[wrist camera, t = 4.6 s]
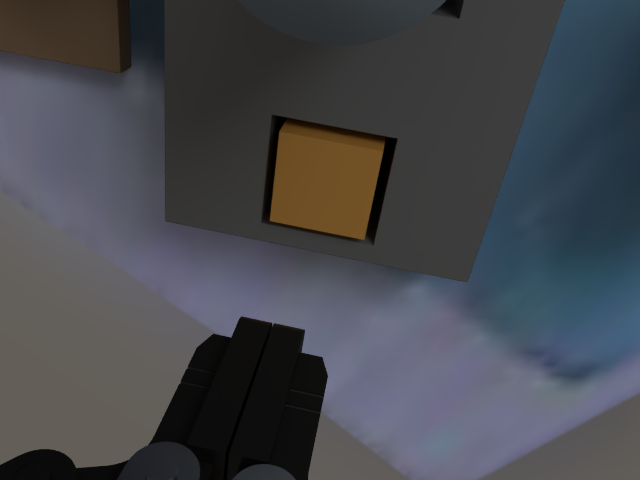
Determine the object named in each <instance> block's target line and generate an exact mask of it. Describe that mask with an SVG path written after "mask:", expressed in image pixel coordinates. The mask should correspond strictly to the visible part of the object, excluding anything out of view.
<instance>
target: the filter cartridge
mask: <svg viewBox="0 0 640 480" xmlns="http://www.w3.org/2000/svg"><path fill="white" fill-rule="evenodd" d="M238 1H239V2H240V3H241V4H242V5H243V6H244V7H245V8H246V9H247V10H248V11H249V12H251V13H252V14H253V15H255V16H256V17H257V18H259V19H260V20H262V21H263V22H264V23H266V24H268V25H269V26H271V27H273V28H275V29H277V30H278V31H280V32H282V33H285V34H287V35H290V36H292V37H295V38H297V39H301V40H305V41H308V42H312V43H316V44H325V45H334V46H340V45H358V44H364V43H371V42H374V41H378V40H381V39H384V38H388V37H391V36H393V35H395V34H397V33H400V32H402V31H404V30H406V29H408V28H410V27H412V26H413V25H415V24H417V23H418V22H420V21H421V20H423V19H425V18H426V17H427V16H428V15H430V14H431V13H432V12H433V11H435V10H436V9H437V8H439V7H440V6H441V5H442V4H443V3H444V2H445V1H446V0H238Z"/></svg>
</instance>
